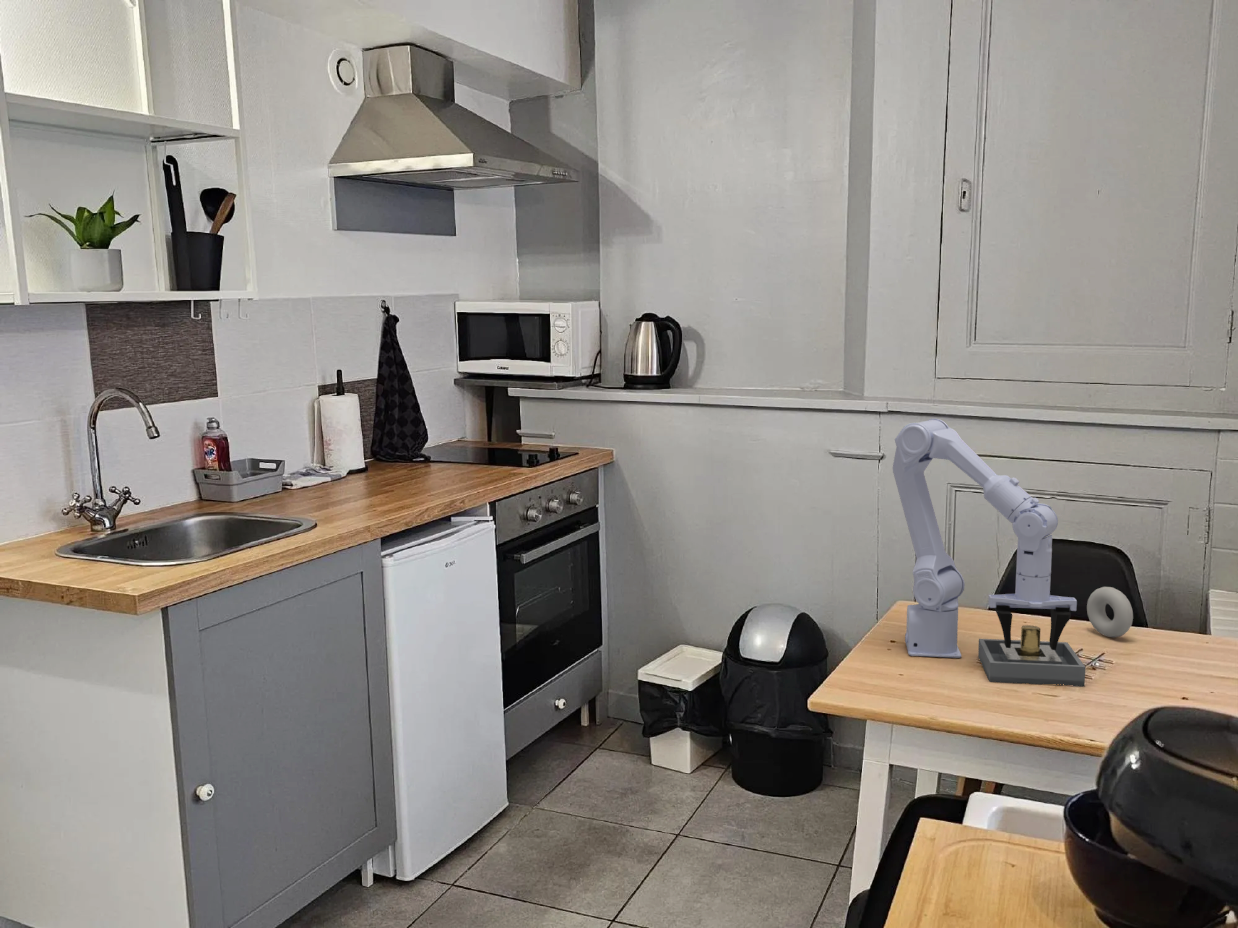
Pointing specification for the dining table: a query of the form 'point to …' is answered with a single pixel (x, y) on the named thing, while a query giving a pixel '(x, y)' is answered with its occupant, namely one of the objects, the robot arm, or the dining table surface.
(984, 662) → the box
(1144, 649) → the dining table surface
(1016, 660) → the inlet
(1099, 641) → the dining table surface
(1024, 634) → the connector
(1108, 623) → the donut
